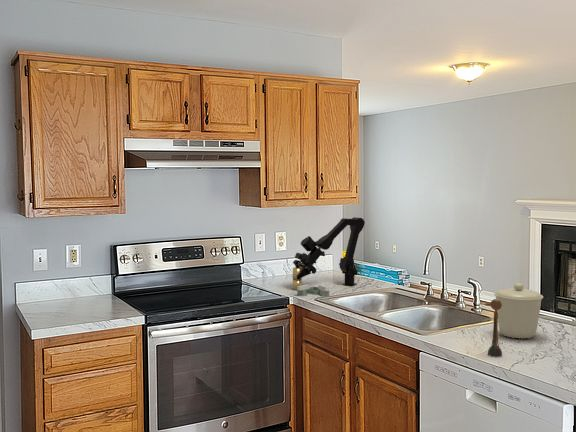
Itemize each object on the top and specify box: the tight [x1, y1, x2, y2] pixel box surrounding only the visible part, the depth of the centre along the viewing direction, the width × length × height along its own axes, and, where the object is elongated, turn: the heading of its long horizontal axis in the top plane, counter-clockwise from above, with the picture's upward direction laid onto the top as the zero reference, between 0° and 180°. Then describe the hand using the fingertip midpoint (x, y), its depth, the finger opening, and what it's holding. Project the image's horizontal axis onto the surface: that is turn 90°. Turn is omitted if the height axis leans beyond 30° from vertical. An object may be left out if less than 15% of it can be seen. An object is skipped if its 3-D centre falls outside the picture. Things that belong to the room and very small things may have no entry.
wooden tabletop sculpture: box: [485, 298, 503, 357], centre depth 214 cm, size 6×5×20 cm
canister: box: [494, 282, 544, 340], centre depth 239 cm, size 18×18×21 cm
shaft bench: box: [296, 283, 330, 297], centre depth 322 cm, size 18×17×5 cm
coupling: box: [292, 267, 303, 291], centre depth 336 cm, size 5×5×12 cm
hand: (294, 278), depth 335 cm, fingers closed on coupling, 5 cm apart
